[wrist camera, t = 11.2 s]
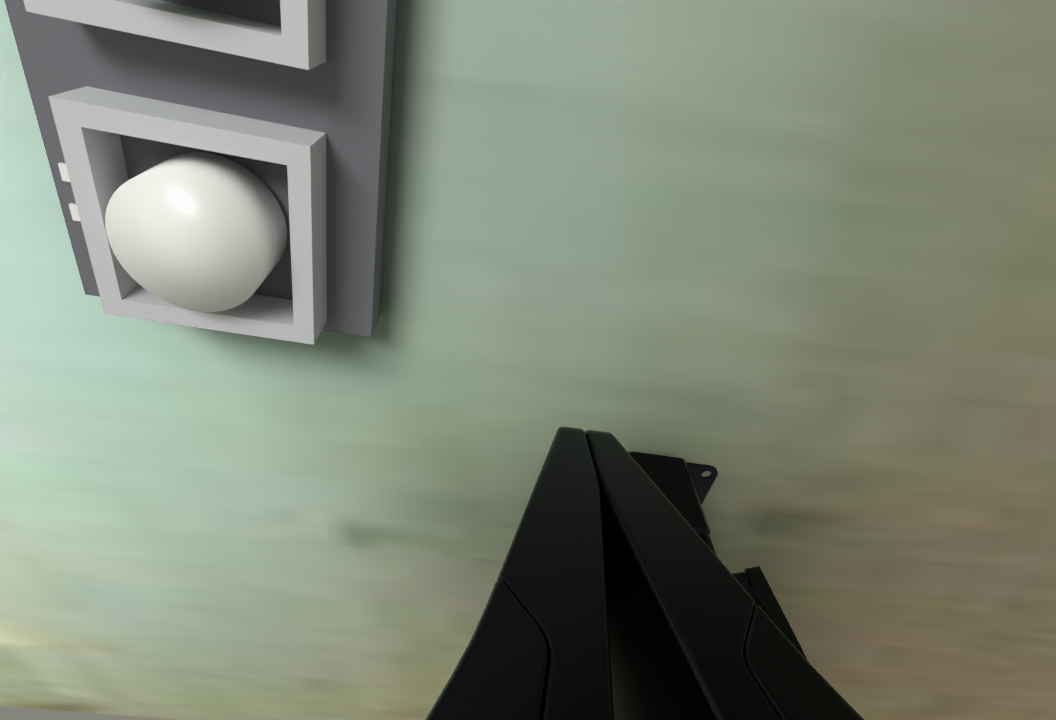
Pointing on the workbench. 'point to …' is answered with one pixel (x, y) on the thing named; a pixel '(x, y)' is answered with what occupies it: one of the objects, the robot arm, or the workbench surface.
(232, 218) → the button white
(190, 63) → the control board
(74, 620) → the workbench surface
